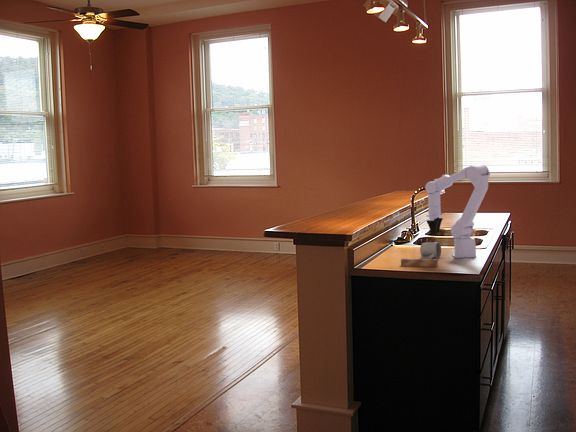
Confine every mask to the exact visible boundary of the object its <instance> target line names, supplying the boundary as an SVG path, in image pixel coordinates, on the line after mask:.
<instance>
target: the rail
mask: <svg viewBox="0 0 576 432" xmlns="http://www.w3.org/2000/svg"><path fill="white" fill-rule="evenodd" d="M438 259H439V258H431V259H422V258H405V257H404V258H403V257H402V258H401V259H400V266H403V267H426V268H427V267H429V268H431V267H432V268H435V267H436V268H437V267H439V260H438Z"/></svg>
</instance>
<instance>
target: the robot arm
mask: <svg viewBox="0 0 576 432" xmlns="http://www.w3.org/2000/svg"><path fill="white" fill-rule="evenodd" d="M490 175H491V172H490V170H489V168H488V167H487V165H484V164H480V165H469V166H467V167H465V168H464V167H463V169H461V170H459V171H457V172H454V173H453V174H451V175H449V174H442V175H441V176H440V177H439V178H435V179H434V180H433V181H428V182H427V183H426V184H425V186H424V187H425V188H424V189H425V191H426V193H427V198H428V199H427V202H428V204H427V205H428V214H426V215H425V217H428V218H429V219H428V220H426V223H427V224H428V227H429V231H430V234H431V236H436V235H437V234H439V233H440V230H441V225H442V221H443V219H444V218H443V217H442V214H441V212H442V211H441V207H442V206H441V195H442V194H441V193H442V191H443V190H446V189H447V188H450V187H451V186H453V185H454V183H455V182H457V181H460V180H462V179H464V178H465V179H466V178H467V179H468V180H469V182H470V183H471V185H473V191H472V192H471V195H470V197H469V199H468V202H467V203H466V206H465V208H464V210H463V212H462V215H461V217H459V218H458V219H457V220H456V221H455V224H453V225H452V226H451V228H450V234H451V236H452V237H453V240H454V241H453V244H454V245H453V246H454V253H453V254H451V256H452V257H454V258H456V259H459V258H463V259H464V258H477V252H476V251H477V247H476V239H475V238H474V237H471V235H472V234H473V233H474V226H475V223H474V219H475V216H476V215H477V212H478V210H479V208H480V207H481V204H482V201H483V200H484V199H485V195H486V193H487V192H488V189H489V178H490Z"/></svg>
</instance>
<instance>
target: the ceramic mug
mask: <svg viewBox="0 0 576 432" xmlns="http://www.w3.org/2000/svg"><path fill="white" fill-rule="evenodd" d="M419 248H420V249H419V250H420V257H421V258H420V259H440V257H441V255H442V245H441V243H440V242H439V241H433V242H432V241H431V242H429V241H428V242H422V243H421V245H420V247H419Z"/></svg>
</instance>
